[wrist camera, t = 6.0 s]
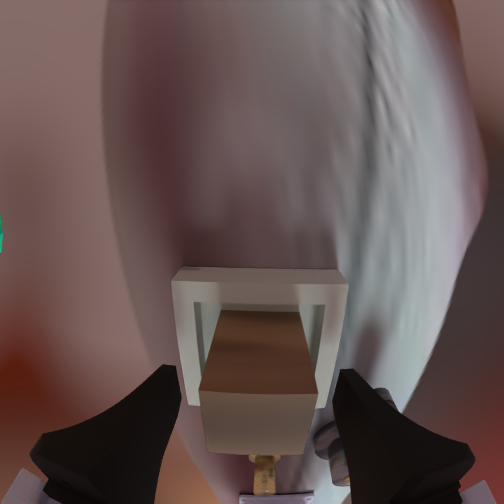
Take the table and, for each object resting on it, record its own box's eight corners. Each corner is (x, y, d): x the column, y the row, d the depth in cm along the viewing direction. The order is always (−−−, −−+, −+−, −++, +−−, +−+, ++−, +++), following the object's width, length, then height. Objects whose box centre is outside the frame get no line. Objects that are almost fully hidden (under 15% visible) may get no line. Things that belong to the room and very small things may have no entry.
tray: (319, 386, 16) (324, 407, 14) (194, 383, 17) (188, 404, 15) (338, 269, 14) (349, 284, 12) (182, 266, 14) (170, 280, 12)
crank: (361, 454, 17) (369, 485, 14) (323, 459, 17) (328, 491, 14) (396, 375, 14) (416, 410, 11) (349, 381, 15) (363, 420, 11)
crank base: (361, 453, 19) (370, 487, 15) (248, 460, 19) (246, 497, 15) (381, 411, 17) (397, 449, 13) (249, 420, 17) (246, 464, 14)
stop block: (292, 371, 15) (302, 454, 9) (223, 369, 15) (207, 451, 10) (299, 311, 14) (318, 393, 8) (220, 309, 14) (197, 390, 8)
